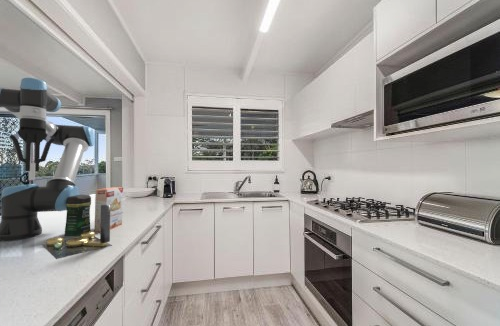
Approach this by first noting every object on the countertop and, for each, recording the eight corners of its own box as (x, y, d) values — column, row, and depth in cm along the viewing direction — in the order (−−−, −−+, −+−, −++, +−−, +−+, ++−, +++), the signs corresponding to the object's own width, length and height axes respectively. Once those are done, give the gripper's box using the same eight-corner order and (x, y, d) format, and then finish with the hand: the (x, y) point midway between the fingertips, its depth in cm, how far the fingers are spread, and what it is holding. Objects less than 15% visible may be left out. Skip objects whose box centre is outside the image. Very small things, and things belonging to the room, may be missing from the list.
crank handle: (61, 246, 88) (62, 205, 88) (77, 240, 95) (78, 202, 95) (101, 248, 86) (102, 206, 86) (115, 242, 93) (115, 203, 93)
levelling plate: (41, 247, 90) (41, 239, 90) (92, 237, 104) (92, 230, 104) (56, 261, 77) (56, 252, 77) (112, 248, 90) (112, 240, 90)
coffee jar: (78, 238, 101) (79, 196, 102) (60, 238, 102) (61, 196, 102) (94, 232, 111) (94, 193, 111) (78, 232, 111) (78, 193, 112)
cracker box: (106, 233, 109) (107, 189, 110) (93, 233, 109) (94, 189, 110) (123, 226, 123) (123, 186, 124) (111, 226, 123) (112, 186, 124)
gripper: (10, 114, 83) (8, 180, 82) (57, 120, 93) (55, 179, 92) (7, 117, 87) (6, 180, 87) (52, 122, 98) (51, 178, 97)
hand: (31, 179), depth 90 cm, fingers closed
